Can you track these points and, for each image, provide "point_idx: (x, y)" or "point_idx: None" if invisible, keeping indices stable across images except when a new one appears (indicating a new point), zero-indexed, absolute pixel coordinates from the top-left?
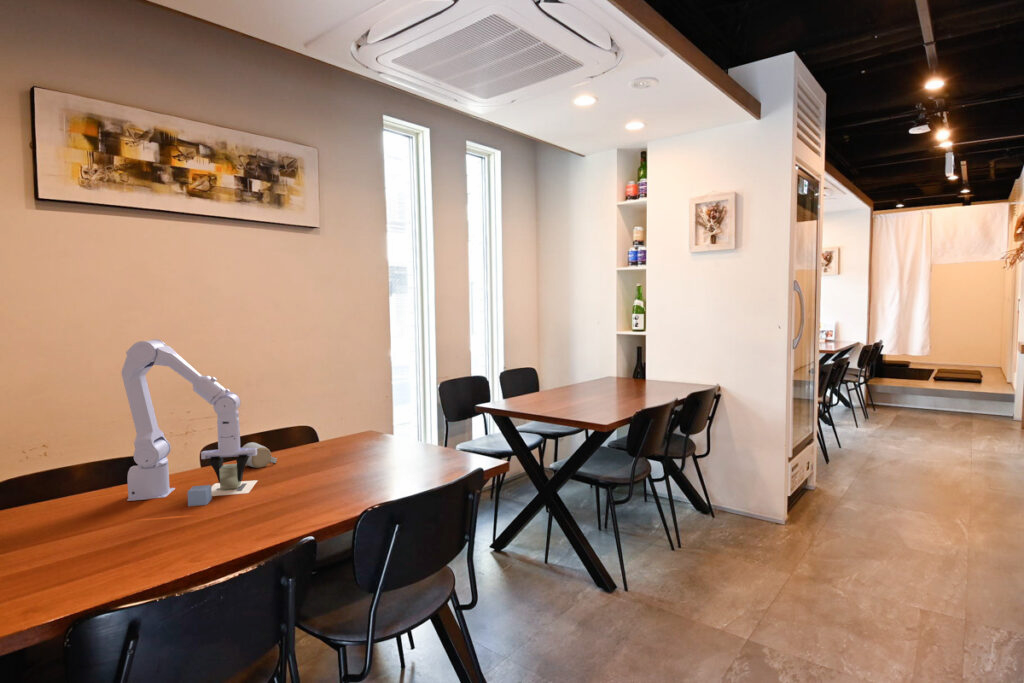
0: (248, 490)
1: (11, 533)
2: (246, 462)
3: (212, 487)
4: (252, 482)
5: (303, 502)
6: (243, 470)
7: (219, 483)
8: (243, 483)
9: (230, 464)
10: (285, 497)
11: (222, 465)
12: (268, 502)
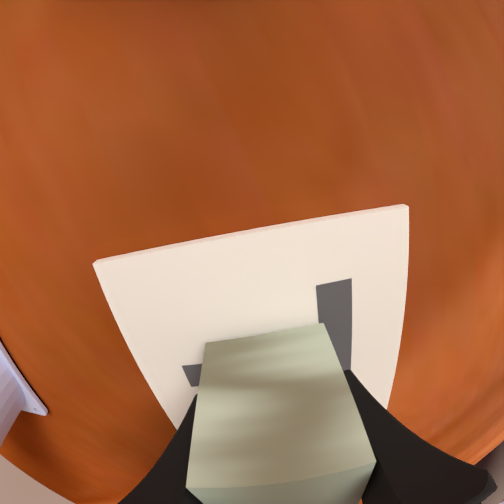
0: (383, 388)
1: (8, 460)
2: (439, 455)
3: (137, 346)
4: (384, 260)
5: (501, 407)
6: (385, 417)
7: (125, 268)
8: (325, 281)
9: (268, 490)
10: (483, 396)
11: (191, 496)
12: (440, 433)
